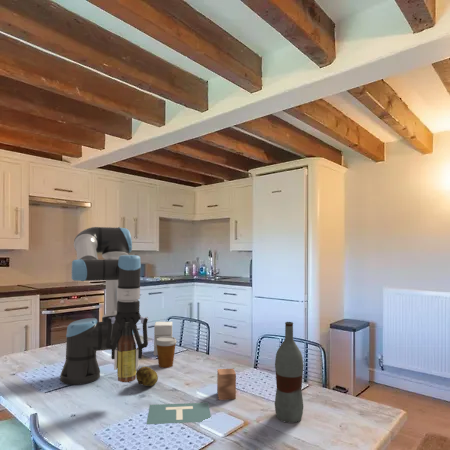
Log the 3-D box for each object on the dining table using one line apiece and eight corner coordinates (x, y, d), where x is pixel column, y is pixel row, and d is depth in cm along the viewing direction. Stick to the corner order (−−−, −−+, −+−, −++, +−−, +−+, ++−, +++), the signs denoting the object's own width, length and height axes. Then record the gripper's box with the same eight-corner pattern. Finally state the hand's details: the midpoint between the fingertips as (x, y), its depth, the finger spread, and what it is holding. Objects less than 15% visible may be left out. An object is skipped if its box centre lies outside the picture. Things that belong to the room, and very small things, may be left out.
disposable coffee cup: (174, 369, 165) (175, 341, 166) (153, 369, 165) (153, 341, 166) (177, 362, 175) (178, 336, 175) (157, 362, 175) (157, 336, 176)
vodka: (308, 421, 117) (308, 324, 119) (282, 425, 115) (282, 326, 116) (295, 409, 126) (295, 319, 128) (269, 412, 124) (270, 320, 125)
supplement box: (154, 350, 194) (155, 321, 194) (172, 350, 195) (172, 321, 195) (153, 356, 185) (154, 325, 185) (171, 355, 186) (172, 325, 186)
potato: (166, 382, 150) (166, 361, 150) (146, 393, 138) (147, 371, 139) (149, 378, 153) (149, 358, 154) (128, 389, 142) (129, 368, 142)
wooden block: (218, 400, 133) (219, 374, 133) (217, 393, 139) (217, 369, 139) (235, 399, 134) (235, 374, 134) (233, 393, 139) (233, 368, 140)
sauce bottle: (139, 378, 130) (141, 320, 130) (129, 384, 124) (131, 323, 125) (123, 375, 132) (125, 318, 133) (112, 381, 126) (114, 322, 127)
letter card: (146, 424, 114) (146, 424, 114) (149, 405, 128) (149, 404, 128) (211, 421, 116) (211, 421, 117) (208, 403, 130) (208, 402, 130)
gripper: (97, 302, 124) (94, 372, 123) (156, 301, 126) (154, 371, 125) (101, 298, 131) (99, 365, 131) (157, 298, 134) (155, 363, 133)
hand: (126, 368), depth 128 cm, fingers closed on sauce bottle, 6 cm apart
